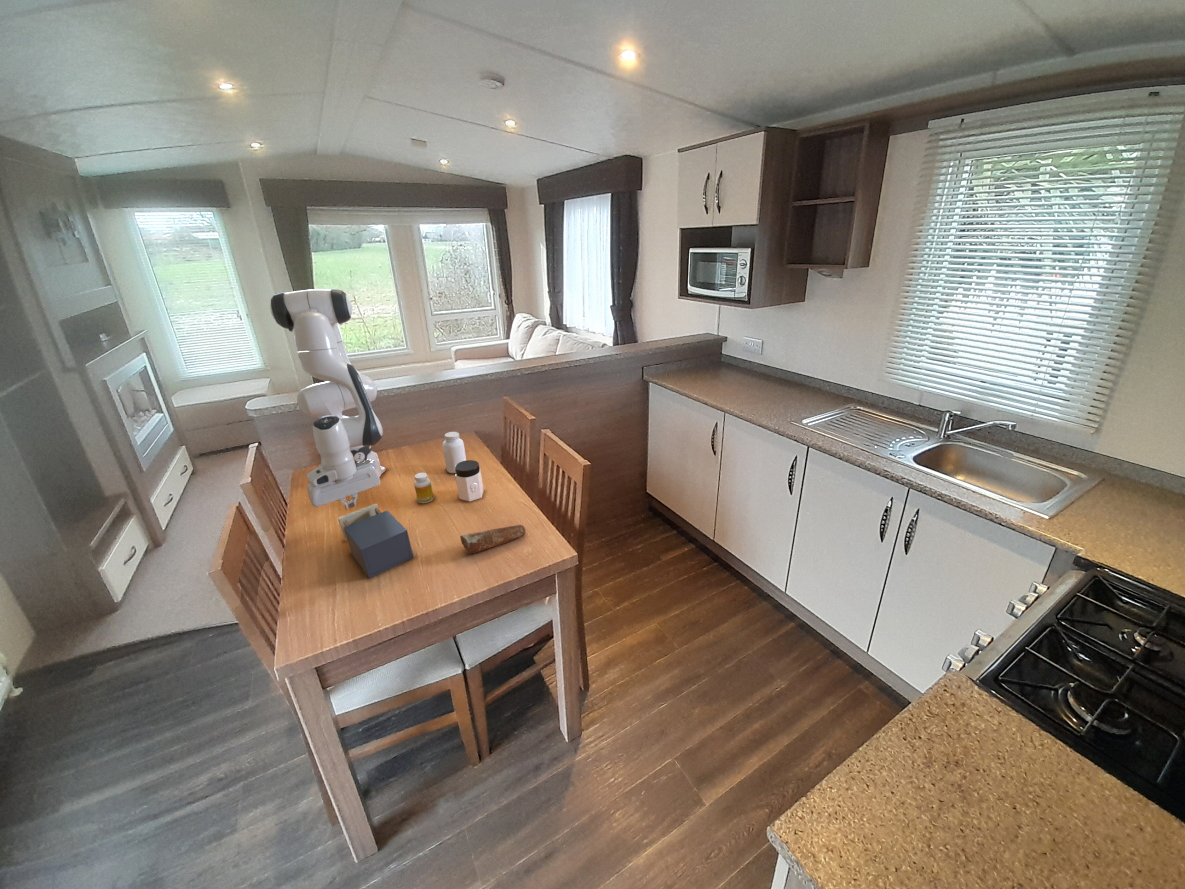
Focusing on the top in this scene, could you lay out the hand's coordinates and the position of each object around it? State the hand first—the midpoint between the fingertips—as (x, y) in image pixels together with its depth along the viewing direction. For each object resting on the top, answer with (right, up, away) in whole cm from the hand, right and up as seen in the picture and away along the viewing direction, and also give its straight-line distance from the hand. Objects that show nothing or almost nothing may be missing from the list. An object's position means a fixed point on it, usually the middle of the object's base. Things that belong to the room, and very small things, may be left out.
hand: (351, 507), depth 151 cm
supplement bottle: (+18, 0, +16) cm, 24 cm away
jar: (+34, +2, +18) cm, 38 cm away
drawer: (+8, -9, -5) cm, 13 cm away
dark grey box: (+15, -13, -12) cm, 23 cm away
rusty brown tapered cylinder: (+47, -10, -8) cm, 49 cm away
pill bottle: (+23, +10, +36) cm, 44 cm away
